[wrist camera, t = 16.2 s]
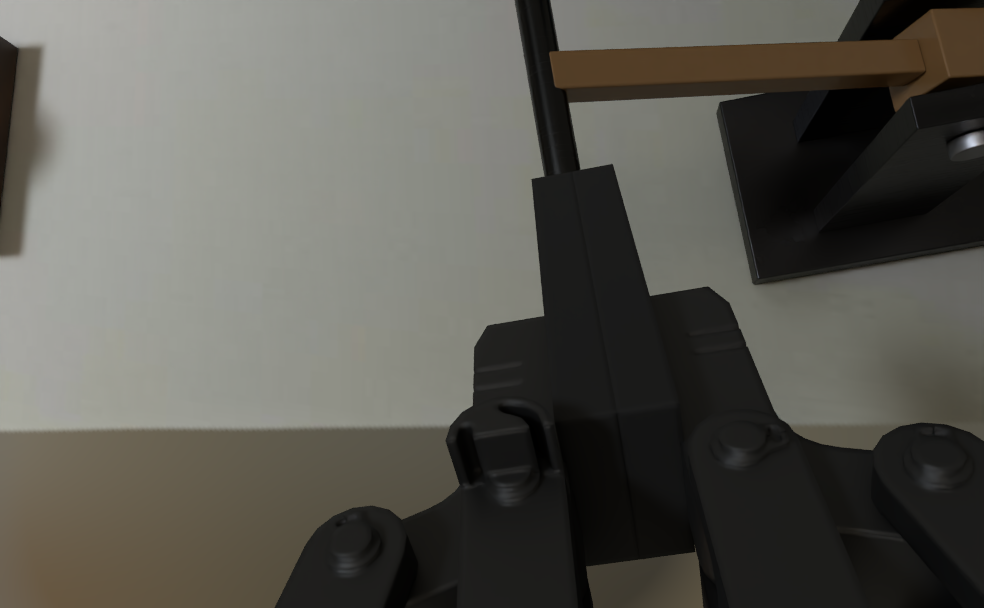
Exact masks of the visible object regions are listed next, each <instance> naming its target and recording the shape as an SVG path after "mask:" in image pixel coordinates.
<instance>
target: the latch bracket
mask: <svg viewBox="0 0 984 608" xmlns="http://www.w3.org/2000/svg"><path fill="white" fill-rule="evenodd" d="M948 8H984V0H860V1H859V3H858V5H857V7H856V8H855V10H854V12H853V14H852V16H851V18H850V19H849V21H848V23H847V25H846V27H845V28H844V30H843V32H842V34H841V36H840V37H839V39H838V41H837V42H839V41H868V40H892V39H893V38H895V37H896V36H897V35H899V34H900V33H901V32H902V31H904V30H905V29H906V28H907V27H909V26H910V25H911V24H913V23H914V22H915V21H916V20H918V19H919V18H920V17H921V16H923V15H924V14H925V13H927V12H928V11H929V10H931V9H948ZM716 114H717V118H718V123H719V128H720V132H721V137H722V142H723V146H724V151H725V156H726V160H727V165H728V170H729V174H730V179H731V184H732V188H733V193H734V198H735V202H736V207H737V212H738V216H739V221H740V226H741V230H742V235H743V240H744V244H745V249H746V254H747V258H748V263H749V268H750V272H751V277H752V282H753V284H759V283H765V282H771V281H777V280H783V279H789V278H794V277H800V276H806V275H812V274H818V273H824V272H830V271H835V270H841V269H847V268H853V267H859V266H865V265H870V264H876V263H882V262H888V261H894V260H900V259H906V258H911V257H917V256H923V255H929V254H935V253H941V252H947V251H952V250H958V249H964V248H970V247H976V246H982V245H984V83H980V84H975V85H970V86H964V87H959V88H954V89H949V90H943V91H938V92H933V93H928V94H922V95H917V96H912V97H909V98H908V99H907V100H906V102H905V103H904V104H903V105H902V106H901V107H900V109H899V110H898V111H897V112H895V110H894V106H893V102H892V98H891V95H890V91H889V87H876V88H856V89H836V90H815V91H795V92H775V93H764V94H759V95H754V96H749V97H744V98H739V99H734V100H729V101H723V102H720V103H719V106H718V110H717V113H716Z"/></svg>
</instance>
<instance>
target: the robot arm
mask: <svg viewBox="0 0 984 608" xmlns="http://www.w3.org/2000/svg"><path fill="white" fill-rule="evenodd" d="M532 188H533V199H534V210H535V220H536V231H537V242H538V252H539V263H540V274H541V284H542V295H543V306H544V316H542V317H536V318H530V319H524V320H518V321H512V322H506V323H500V324H494V325H488V326H487V327H486V329H485V330H484V332H483V334H482V335H481V337H480V339H479V340H478V342H477V344H476V345H475V347H474V384H473V388H474V392H473V406H472V407H470V408H468V409H467V410H465V411H464V412H462V413H461V414H460V415H459V417H458V418H457V419H456V420H455V421H454V422H453V423H452V425H451V426H450V429H449V432H448V435H447V438H446V443H447V446H448V450H449V453H450V456H451V459H452V462H453V465H454V468H455V471H456V474H457V477H458V480H459V484H460V486H459V487H458V488H457V490H456V491H455V492H454V493H452V494H451V495H450V496H449V497H447V498H446V499H445V500H444V501H442V502H440V503H439V504H437V505H434V506H433V507H431V508H429V509H427V510H424V511H422V512H420V513H417V514H415V515H413V516H410V517H408V518H405V519H403V520H401V519H400V518H399V517H397V516H396V515H395V514H394V513H393V512H391V511H390V510H388V509H384V508H380V507H375V506H366V507H358V508H352V509H349V510H347V511H345V512H342V513H340V514H337V515H335V516H333V517H332V518H331V519H329V520H328V521H327V522H325V523H324V524H323V525H321V526H320V527H319V528H318V529H317V530H316V531H315V533H314V534H313V535H312V537H311V538H310V540H309V541H308V542H307V544H306V546H305V547H304V549H303V551H302V553H301V556H300V557H299V559H298V562H297V563H296V566H295V567H294V569H293V572H292V574H291V576H290V578H289V580H288V582H287V584H286V586H285V588H284V590H283V592H282V594H281V596H280V598H279V600H278V602H277V604H276V606H275V608H593V601H592V597H591V592H590V588H589V583H588V579H587V571H586V566H593V565H600V564H608V563H616V562H623V561H630V560H638V559H646V558H652V557H660V556H668V555H675V554H683V553H691V552H695V548H696V552H697V556H698V559H699V567H700V576H701V586H702V596H703V607H704V608H984V441H982V440H981V439H979V438H978V437H976V436H975V435H973V434H972V433H970V432H967V431H964V430H961V429H958V428H955V427H952V426H949V425H945V424H933V423H916V424H911V425H905V426H900V427H898V428H896V429H894V430H892V431H890V432H889V433H887V434H885V435H883V436H882V438H881V439H880V441H879V442H878V444H877V445H876V447H875V448H874V450H862V449H851V448H841V447H835V446H829V445H822V444H819V443H816V442H814V441H811V440H808V439H805V438H803V437H802V436H800V435H798V434H796V433H795V432H793V430H792V429H791V427H790V426H789V425H788V424H787V423H785V422H784V421H782V420H780V419H779V418H778V416H777V414H776V413H775V411H774V409H773V407H772V404H771V402H770V400H769V397H768V395H767V392H766V390H765V388H764V385H763V383H762V380H761V378H760V376H759V373H758V371H757V368H756V366H755V363H754V361H753V359H752V356H751V354H750V351H749V349H748V347H746V342H745V339H744V337H743V335H742V332H741V330H740V329H739V326H738V323H737V320H736V318H735V315H734V313H733V310H732V308H731V306H730V303H729V302H727V301H726V300H725V299H724V298H722V297H721V296H720V295H718V294H717V293H716V292H715V291H713V290H712V289H711V288H709V287H702V288H696V289H690V290H684V291H678V292H672V293H666V294H660V295H654V296H650V295H649V292H648V288H647V285H646V281H645V278H644V274H643V271H642V267H641V263H640V260H639V256H638V253H637V249H636V246H635V242H634V239H633V235H632V231H631V228H630V224H629V221H628V217H627V214H626V210H625V206H624V203H623V199H622V196H621V192H620V189H619V185H618V182H617V178H616V174H615V171H614V167H613V164H610V165H605V166H599V167H594V168H589V169H583V170H578V171H573V172H567V173H562V174H556V175H551V176H546V177H540V178H535V179H532ZM694 544H695V546H694Z"/></svg>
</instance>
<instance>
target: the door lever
mask: <svg viewBox="0 0 984 608" xmlns="http://www.w3.org/2000/svg"><path fill="white" fill-rule="evenodd" d="M515 6H516V12H517V17H518V23H519V29H520V35H521V41H522V47H523V53H524V59H525V64H526V70H527V76H528V82H529V88H530V94H531V100H532V106H533V112H534V117H535V123H536V129H537V135H538V141H539V147H540V153H541V159H542V164H543V170H544V176H545V177H546V176H551V175H556V174H562V173H567V172H573V171H578V170H580V164H579V158H578V153H577V147H576V142H575V136H574V131H573V125H572V119H571V114H570V108H569V103H573V102H593V101H613V100H633V99H654V98H674V97H694V96H714V95H735V94H755V93H775V92H795V91H815V90H836V89H856V88H876V87H889V91H890V95H891V98H892V102H893V106H894V110H895V112H897V111H898V110H899V109H900V107H901V106H902V105H903V104H904V103H905V102H906V100H907V99H908V98H909V97H912V96H917V95H922V94H928V93H933V92H938V91H943V90H949V89H954V88H959V87H964V86H970V85H975V84H980V83H984V8H948V9H931V10H929V11H928V12H927V13H925V14H924V15H923V16H921V17H920V18H919V19H918V20H916V21H915V22H914V23H913V24H911V25H910V26H909V27H907V28H906V29H905V30H904V31H902V32H901V33H900V34H899V35H897V36H896V37H895V38H893V39H892V40H868V41H839V42H810V43H781V44H752V45H723V46H693V47H664V48H635V49H606V50H577V51H559V47H558V41H557V35H556V30H555V24H554V19H553V13H552V8H551V2H550V0H515Z"/></svg>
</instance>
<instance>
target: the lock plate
mask: <svg viewBox="0 0 984 608" xmlns="http://www.w3.org/2000/svg"><path fill="white" fill-rule="evenodd" d="M17 51H18V48H17V47H15V46H14V45H12V44H11V43H9V42H8V41H6V40H5V39H3V38H2V37H0V206H1V197H2V188H3V179H4V170H5V160H6V151H7V142H8V133H9V124H10V115H11V106H12V97H13V88H14V78H15V69H16V60H17Z"/></svg>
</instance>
